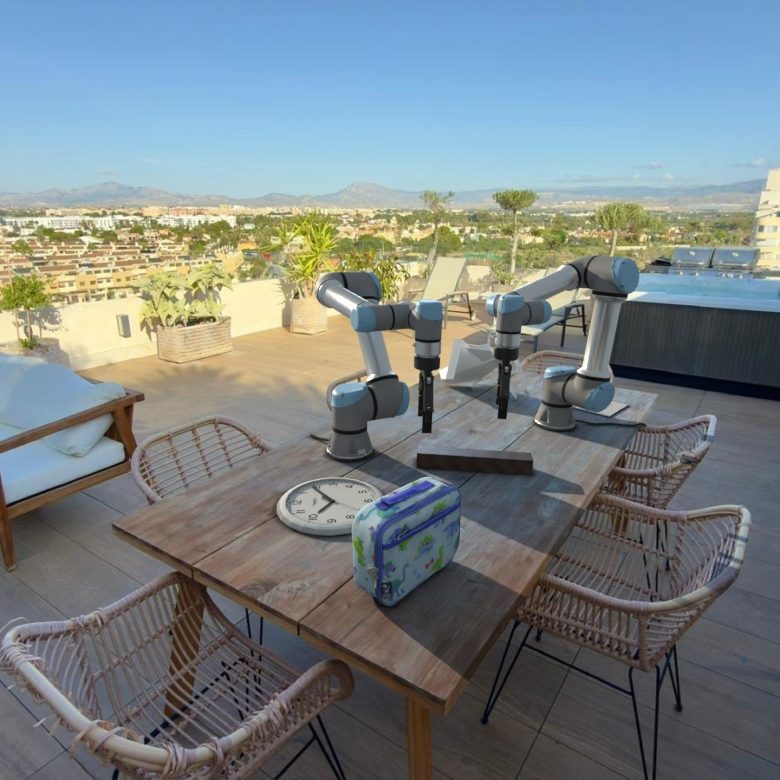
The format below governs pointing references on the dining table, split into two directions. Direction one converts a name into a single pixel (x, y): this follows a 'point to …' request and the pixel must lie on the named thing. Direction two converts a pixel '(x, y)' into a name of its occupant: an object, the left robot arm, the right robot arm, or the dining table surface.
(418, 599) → the dining table surface
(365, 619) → the dining table surface
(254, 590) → the dining table surface
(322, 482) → the wall clock
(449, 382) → the white plastic object
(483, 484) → the dining table surface
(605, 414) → the invitation card
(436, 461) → the plank
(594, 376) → the right robot arm
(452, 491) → the lunch box
